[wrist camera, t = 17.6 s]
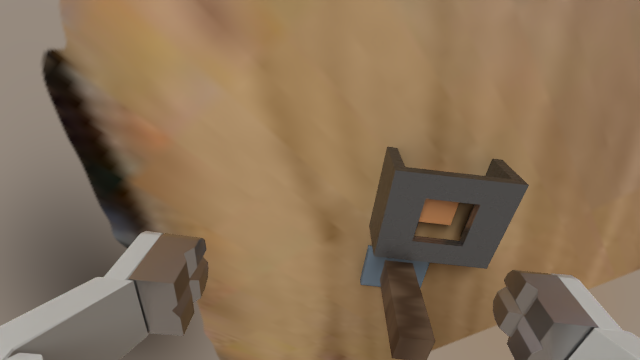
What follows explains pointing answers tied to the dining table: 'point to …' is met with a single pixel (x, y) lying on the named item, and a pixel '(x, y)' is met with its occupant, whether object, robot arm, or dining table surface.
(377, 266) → the pad
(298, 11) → the dining table surface
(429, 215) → the button
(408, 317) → the brown block
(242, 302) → the dining table surface
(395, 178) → the guard
